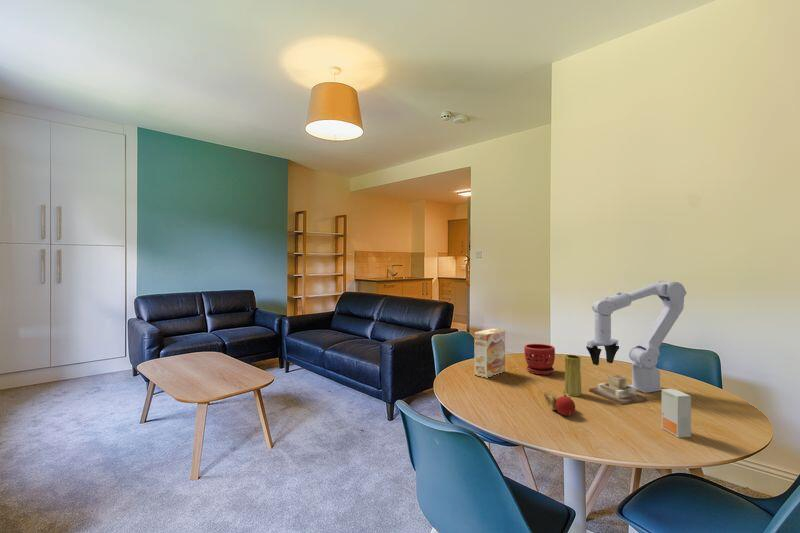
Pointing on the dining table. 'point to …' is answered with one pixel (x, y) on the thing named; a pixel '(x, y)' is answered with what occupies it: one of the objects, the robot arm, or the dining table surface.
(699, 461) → the dining table surface
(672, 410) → the skincare box
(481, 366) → the coffeecake box
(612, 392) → the socket board
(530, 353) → the plant pot
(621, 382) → the birch peg
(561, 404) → the kendama
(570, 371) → the vase
